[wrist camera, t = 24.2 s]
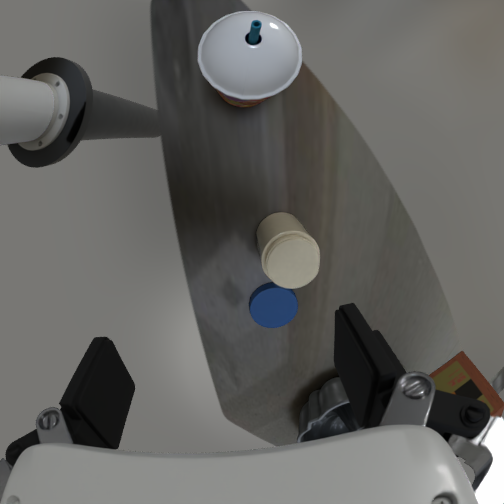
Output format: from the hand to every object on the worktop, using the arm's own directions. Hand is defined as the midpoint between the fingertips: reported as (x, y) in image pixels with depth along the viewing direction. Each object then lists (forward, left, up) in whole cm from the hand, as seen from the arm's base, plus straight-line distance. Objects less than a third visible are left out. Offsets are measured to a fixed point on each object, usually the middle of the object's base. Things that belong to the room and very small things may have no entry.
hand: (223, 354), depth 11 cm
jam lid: (+11, -12, -27) cm, 32 cm away
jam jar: (+8, -2, -28) cm, 29 cm away
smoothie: (-4, +15, -28) cm, 32 cm away
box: (+61, -21, -28) cm, 71 cm away
